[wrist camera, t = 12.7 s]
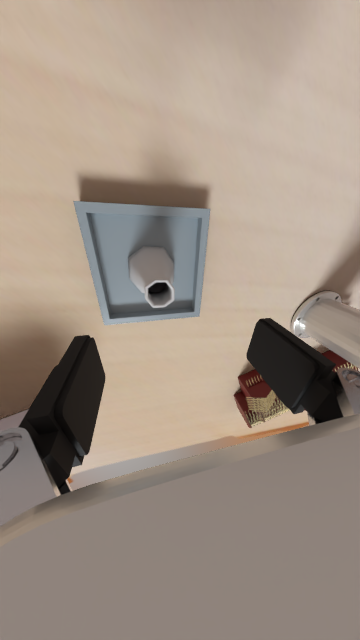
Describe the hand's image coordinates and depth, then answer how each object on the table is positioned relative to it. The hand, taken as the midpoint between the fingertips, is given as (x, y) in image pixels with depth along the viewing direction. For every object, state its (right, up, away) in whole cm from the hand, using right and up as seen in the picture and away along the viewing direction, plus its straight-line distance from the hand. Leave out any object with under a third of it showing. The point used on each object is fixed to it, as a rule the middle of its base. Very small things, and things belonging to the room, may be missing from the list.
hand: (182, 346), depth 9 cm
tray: (-5, +10, +16) cm, 19 cm away
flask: (-5, +9, +15) cm, 19 cm away
